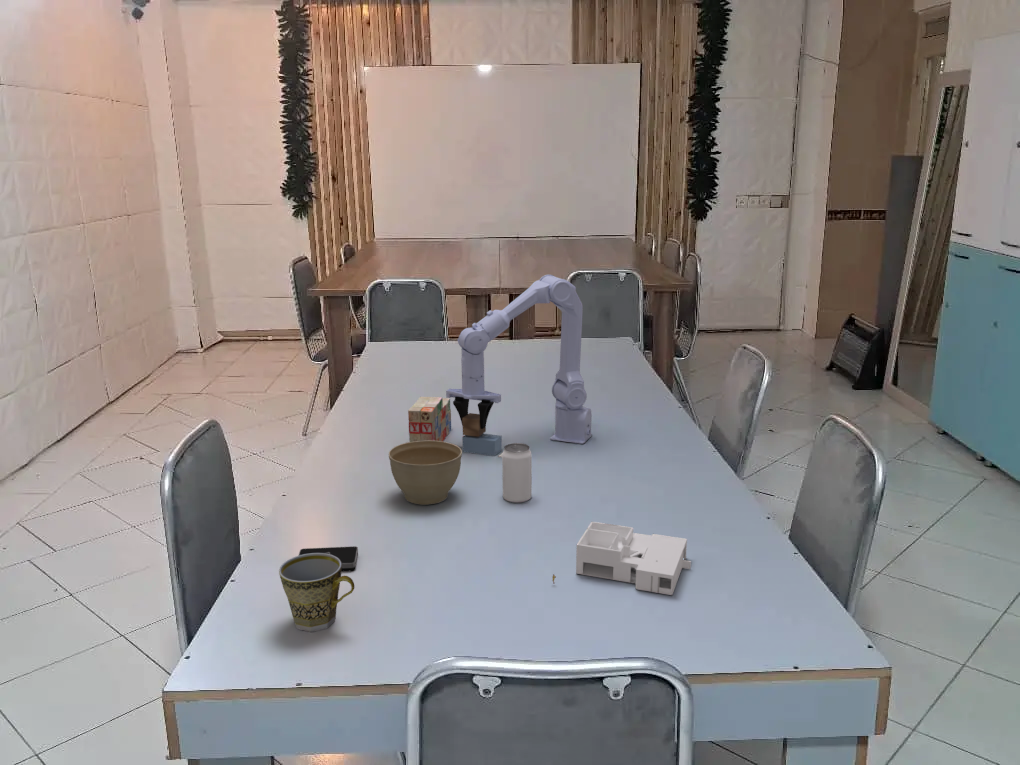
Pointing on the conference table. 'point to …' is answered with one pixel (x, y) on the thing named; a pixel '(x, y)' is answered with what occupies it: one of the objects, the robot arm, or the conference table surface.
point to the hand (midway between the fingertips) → (473, 426)
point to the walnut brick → (472, 425)
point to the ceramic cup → (313, 589)
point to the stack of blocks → (429, 419)
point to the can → (517, 473)
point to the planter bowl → (425, 469)
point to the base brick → (483, 444)
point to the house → (631, 557)
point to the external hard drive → (338, 555)
